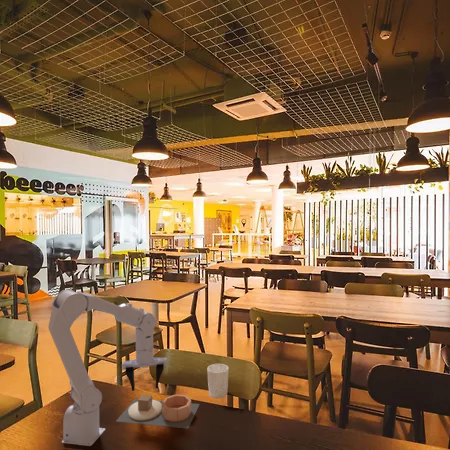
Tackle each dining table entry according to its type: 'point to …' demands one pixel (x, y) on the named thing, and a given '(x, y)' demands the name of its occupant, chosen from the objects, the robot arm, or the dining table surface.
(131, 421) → the mat
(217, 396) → the white cup
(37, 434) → the dining table surface
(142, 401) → the lid
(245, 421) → the dining table surface
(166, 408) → the bowl
